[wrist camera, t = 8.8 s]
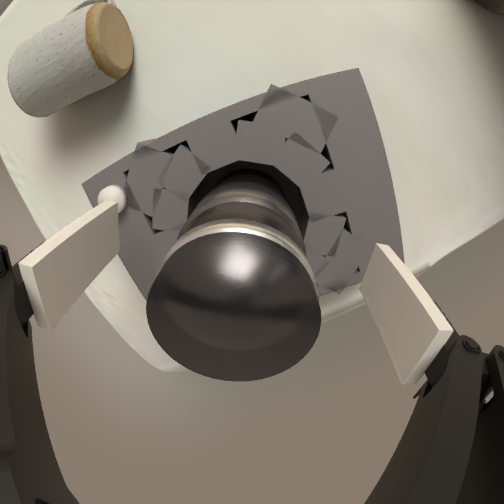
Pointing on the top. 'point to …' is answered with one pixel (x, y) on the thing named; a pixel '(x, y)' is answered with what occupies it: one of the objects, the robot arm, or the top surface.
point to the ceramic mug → (71, 58)
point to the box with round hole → (274, 164)
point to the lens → (237, 285)
